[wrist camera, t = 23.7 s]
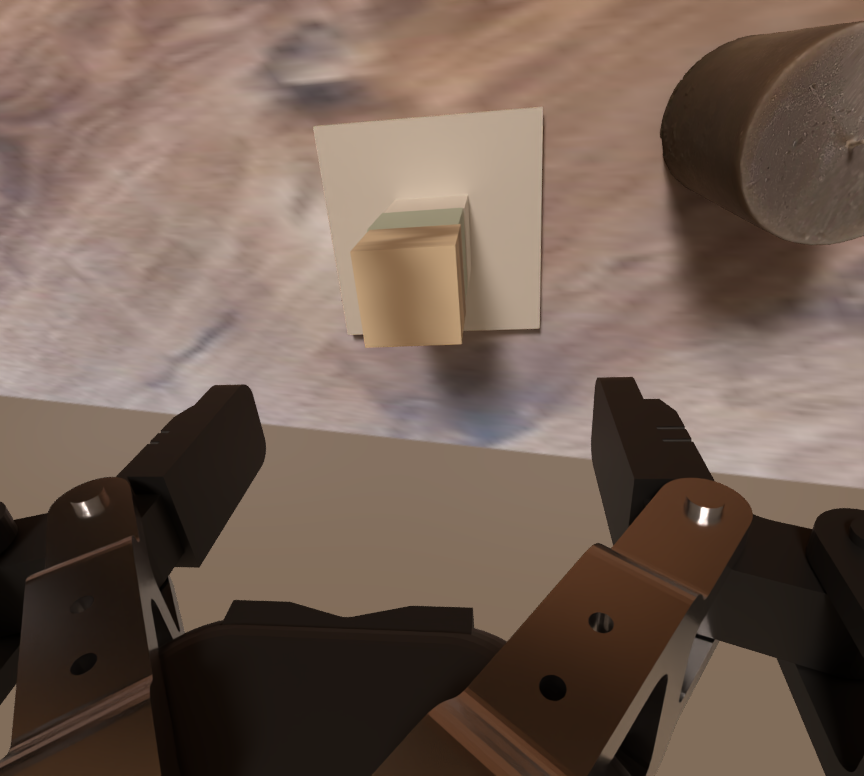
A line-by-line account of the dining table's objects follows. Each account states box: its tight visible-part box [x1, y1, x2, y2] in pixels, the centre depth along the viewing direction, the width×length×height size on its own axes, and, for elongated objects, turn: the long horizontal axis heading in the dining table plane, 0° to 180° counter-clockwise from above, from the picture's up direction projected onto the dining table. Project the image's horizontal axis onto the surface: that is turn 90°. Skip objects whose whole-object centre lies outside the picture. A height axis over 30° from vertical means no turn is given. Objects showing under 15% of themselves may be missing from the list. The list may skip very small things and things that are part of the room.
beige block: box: [384, 195, 471, 287], centre depth 39 cm, size 5×5×5 cm
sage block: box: [367, 208, 468, 301], centre depth 35 cm, size 5×5×5 cm
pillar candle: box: [660, 21, 864, 245], centre depth 30 cm, size 10×10×15 cm
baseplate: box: [313, 107, 543, 335], centre depth 42 cm, size 16×16×1 cm
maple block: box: [350, 224, 466, 348], centre depth 31 cm, size 5×5×5 cm
